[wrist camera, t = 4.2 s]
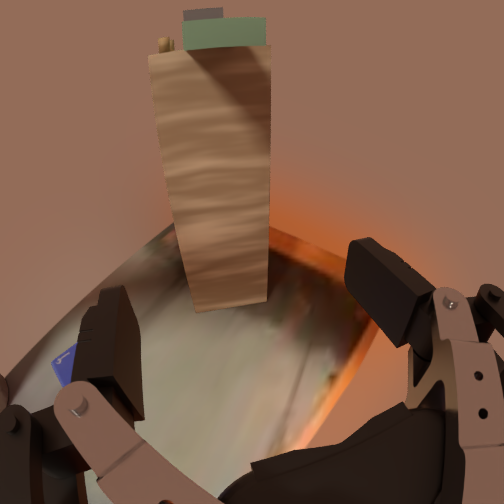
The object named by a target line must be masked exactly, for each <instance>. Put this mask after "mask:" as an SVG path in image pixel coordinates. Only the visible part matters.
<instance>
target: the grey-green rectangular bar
mask: <svg viewBox="0 0 504 504" xmlns="http://www.w3.org/2000/svg"><path fill="white" fill-rule="evenodd" d="M183 16H184V22H182V31H183V47H184V51H187V50H195V49H205V48H217V47H233V46H266V18H256V17H254V18H253V17H243V18H242V17H241V18H223V8H206V9H195V10H185V11H183Z"/></svg>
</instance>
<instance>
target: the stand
mask: <svg viewBox="0 0 504 504" xmlns="http://www.w3.org/2000/svg"><path fill="white" fill-rule="evenodd" d="M158 45H159V54H154V55H149V56H148V60H149V71H150V79H151V88H152V96H153V105H154V112H155V119H156V126H157V133H158V139H159V145H160V151H161V157H162V163H163V169H164V174H165V180H166V185H167V190H168V196H169V201H170V206H171V210H172V215H173V220H174V225H175V229H176V234H177V239H178V243H179V247H180V252H181V256H182V260H183V264H184V268H185V273H186V277H187V281H188V285H189V288H190V292H191V296H192V300H193V304H194V307H195V311H196V313H199V312H206V311H212V310H218V309H225V308H231V307H237V306H243V305H248V304H254V303H260V302H265V301H267V279H268V245H269V202H270V138H271V135H270V134H271V129H270V128H271V127H270V126H271V45H266V46H233V47H217V48H205V49H195V50H187V51H184V50H178V51H174V40H169V37H164V38H159V39H158Z"/></svg>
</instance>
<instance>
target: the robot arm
mask: <svg viewBox="0 0 504 504" xmlns="http://www.w3.org/2000/svg"><path fill="white" fill-rule="evenodd" d="M344 280H345V285H346V287H347V289H348V291H349V292H350V293H351V294H352V295H353V297H354V298H355V299H356V300H357V301H358V302H359V304H360V305H361V306H362V307H363V308H364V309H365V311H366V312H367V313H368V314H369V315H370V317H371V318H372V319H373V320H374V321H375V322H376V324H377V325H378V326H379V327H380V328H381V330H383V332H384V333H385V334H386V336H387V337H388V338H389V339H390V340H391V342H392V343H393V344H394V345H395V347H396V348H398V347H401V346H403V345H405V344H407V343H409V344H410V345H411V346H410V349H409V351H408V393H407V398H406V401H405V404H404V403H403V402H401V403H399V404H397V405H396V406H394V407H392V408H390V409H388V410H386V411H384V412H383V413H381V414H379V415H377V416H375V417H373V418H372V419H370V420H369V421H368V422H367V423H366V424H364V425H363V426H362V427H361V428H359V429H358V430H357V431H356V432H354V433H353V434H352V435H351V436H349V437H348V438H347V439H346V440H344V441H343V442H341V443H339V444H336V445H330V446H324V447H316V448H309V449H300V450H293V451H290V452H287V453H284V454H280V455H277V456H274V457H270V458H267V459H263V460H260V461H256V462H252V463H250V464H251V469H252V471H251V472H249V473H247V474H245V475H243V476H242V477H240V478H239V479H237V480H236V481H234V482H233V483H232V484H231V485H229V486H228V487H227V488H226V489H225V490H224V491H223V492H222V493H221V494H220V496H219V497H218V498H217V499H216V498H215V497H214V496H212V495H211V494H209V493H208V492H207V491H205V490H204V489H202V488H201V487H200V486H198V485H197V484H196V483H194V482H193V481H192V480H191V479H189V478H188V477H187V476H185V475H184V474H183V473H182V472H181V471H179V470H178V469H177V468H176V467H174V466H173V465H172V464H171V463H170V462H169V461H167V460H166V459H165V458H164V457H163V456H162V455H161V454H159V453H158V452H157V451H156V450H155V449H154V448H153V447H152V446H151V445H150V444H149V443H147V442H146V441H145V440H144V439H142V438H141V437H140V436H139V435H138V434H137V433H136V432H135V427H134V421H143V420H145V417H144V405H143V390H142V371H141V336H140V329H139V325H138V321H137V319H136V316H135V313H134V311H133V308H132V306H131V303H130V300H129V298H128V295H127V292H126V290H125V288H124V286H123V285H121V286H115V287H110V288H105V289H101V291H100V295H99V300H98V305H97V306H92V307H90V308H89V309H88V310H87V312H86V313H85V315H84V316H83V318H82V321H81V325H80V330H79V331H80V333H79V335H78V340H77V342H78V344H77V345H76V350H75V356H74V362H73V368H72V375H71V382H70V384H68V385H66V386H65V387H63V388H62V389H61V390H60V391H59V393H58V394H57V396H56V398H55V401H54V405H53V406H50V407H48V408H45V409H43V410H40V411H37V412H34V413H32V414H30V413H29V412H28V411H27V410H26V409H25V408H24V407H22V406H21V405H16V404H14V405H10V406H8V407H6V406H7V402H8V387H7V383H6V381H5V379H4V377H3V376H2V375H1V374H0V504H88V500H87V493H86V486H85V477H84V472H85V471H88V470H90V469H92V470H93V471H94V472H95V474H96V475H97V477H98V479H97V480H96V481H97V483H98V485H99V487H100V488H101V489H102V491H103V492H104V493H105V494H106V496H107V497H108V498H109V499H110V500H111V501H112V502H113V503H114V504H504V361H503V360H502V359H501V358H500V356H499V355H498V354H497V353H496V352H495V350H494V349H493V347H492V345H491V344H490V343H488V342H487V341H488V340H489V338H490V336H491V334H492V333H493V331H494V329H496V330H497V331H498V332H499V333H500V334H501V335H502V336H503V337H504V292H503V291H502V290H501V289H500V288H498V287H497V286H494V285H492V284H484V285H481V287H480V289H479V291H478V293H477V296H476V297H468V298H465V297H464V295H462V294H461V293H460V292H458V291H457V290H454V289H452V288H448V287H441V288H438V289H436V288H435V287H434V286H433V285H432V284H430V283H429V282H428V281H427V280H426V279H425V278H424V277H422V276H421V275H420V274H419V273H418V272H417V271H415V270H414V269H413V268H411V266H410V265H409V264H407V263H406V262H404V261H403V259H401V258H400V257H399V256H398V255H396V254H395V253H394V252H391V251H389V250H387V249H385V248H384V247H382V246H381V245H380V244H379V243H377V242H376V241H375V240H374V239H372V238H370V237H367V238H363V239H358V240H353V241H351V242H350V244H349V248H348V255H347V261H346V268H345V274H344Z"/></svg>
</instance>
